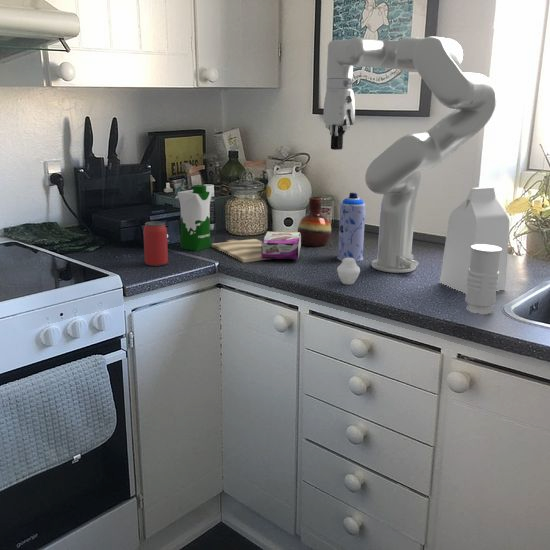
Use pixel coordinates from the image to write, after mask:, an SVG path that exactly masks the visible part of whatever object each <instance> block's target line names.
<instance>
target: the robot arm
mask: <svg viewBox="0 0 550 550" xmlns="http://www.w3.org/2000/svg"><path fill="white" fill-rule="evenodd" d="M327 45H328V46H327V62H326V63H327V64H326V88H325V90H326V91H325V97H324V102H323V115H322V116H323V123H324V124H325V128H326V129H327V130H329V134H330V137H331V138H330V149H331V150H335V151H336V150H338V151H339V150H343V148H344V147H343V146H344V145H343V143H344V141H343V140H344V136H345V132H346V131H349V130H350V129H351V126H353V125H354V124H355V122H356V121H355V119H356V117H355V115H356V109H355V108H356V106H355V105H356V104H355V103H356V102H355V94H354V90H353V79H354V67H361V68H362V67H363V68H375V69H393V70H399V71H401V72H407V73H418V75H419V76H420V78H421V79H422V80H423V81H424V83H425V84H426V86H427V87H428V88H429V90H430V91H431V92H432V94H433V96H434V97H435V98H436V99H437V101H438V102H439V103H440V104H441V105H443V106H444V107H446V108H449V109H454V110H453V111H451V112H450V113H448V114H446V115H445V116H444V117H442V118H441V119H440V120H438V122H437V123H436V124H434V125H433V126H432V127H430V128H429V129H427V130H426V131H424V132H423V131H422V132H420V133H419V132H417V133H410V134H406V135H403V136H402V137H400V138H399V139H397V140H395V141H394V142H393V143H391V144H390V146H388V147H387V148H385V150H384V151H383V152H381V153H380V154H379V155H378V156H377V157H376V158H374V159H373V160H372V162H371V163H370V164H369V166H368V167H367V169H366V171H365V177H364V179H365V184H366V186H367V188H368V189H369V190H370V191H371V192H372V193H375V194H378V195H383V196H382V200H381V203H380V212H379V226H378V227H379V229H378V230H379V231H378V243H377V257H376V259H373V260H372V261H371V267H372V268H373V269H374V270H376V271H381V272H385V273H396V274H399V273H400V274H401V273H410V272H413V271H415V270H416V267H418V265H419V261H417V260H414V254H412V249H413V237H414V224H415V223H414V222H415V212H416V203H417V196H418V192H419V187H420V183H421V179H422V172H421V171H424V170H429V169H430V170H431V169H433V168H436V167H437V166H438V165H439V164H441V163H442V162H443V161H445V160H446V159H447V158H448V157H449V156H450V155H452V154H453V153H454V152H456V151H457V150H458V149H460V147H462V146H463V145H464V144H466V142H468V141H469V140H470V139H471V138H473V137H474V136H475V135H477V134H478V133H479V132H480V131H481V130H483V128H484V127H486V125H487V123H488V122H489V121H490V119H491V118H492V116H493V114H494V111H495V108H496V106H497V105H496V104H497V91H496V90H497V89H496V87H495V83H493V81H492V79H490V78H489V77H487V76H486V75H484V74H482V73H477V72H462V70H461V69H460V68H459V67H460V66H461V64H462V61H463V56H464V53H463V49H462V46H461V45H460V43H458V41H456V40H454V39H452V38H447V37H446V38H445V37H440V36H427V37H426V36H425V37H409V36H408V37H407V36H406V37H404V38H402V39H401V40H386V39H385V40H383V39H373V38H368V37H367V38H365V37H352V38H348V39H333V40H330V41H329V42H328V44H327Z"/></svg>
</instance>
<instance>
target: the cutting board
mask: <svg viewBox="0 0 550 550" xmlns="http://www.w3.org/2000/svg"><path fill="white" fill-rule="evenodd" d="M262 241H263V240H260V239H257V238H250V239H249V238H248V239H242V240H240V239H239V240H237V239H226V242H225V241H224V242H217V243H216V242H215V243H211V248H213V249H215V250H217V251H219V252H221V251H222V252H221V253H223V252H224V253H223V254H225V253H226V255H227V254H228V255H227V256H229V255H230V257H231V256H232V258H233V257H234V258H233V259H235V258H236V260H237V259H238V260H237V261H239V262H242V263H252V262H258V261H266V260H272V259H271V258H262V247H261V243H262Z"/></svg>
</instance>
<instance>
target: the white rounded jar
mask: <svg viewBox="0 0 550 550" xmlns="http://www.w3.org/2000/svg"><path fill="white" fill-rule="evenodd" d="M336 272H337V275H338V277H339V280H340V281H341V284H344V285H353V284H354V283H355V282H357V279H358V277H359V275H360V273H361V269H360V267H359V266H358V264H357V262H356V261H355V260H354V259H353V258H345V259H343V261H341V263H340V264H339V265H338V266H337V268H336Z"/></svg>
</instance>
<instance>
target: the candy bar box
mask: <svg viewBox="0 0 550 550" xmlns="http://www.w3.org/2000/svg"><path fill="white" fill-rule="evenodd" d="M261 241H262V243H261V247H262V258H271V259H270V260H273V259H276V260H277V259H279V260H280V259H283V260H288V259H289V260H299V258H300V254H301V253H300V252H301V247H302V246H301V245H302V243H301V232H298V231H268V230H267V231H266V232H265V234H264V237H263V240H261Z"/></svg>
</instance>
